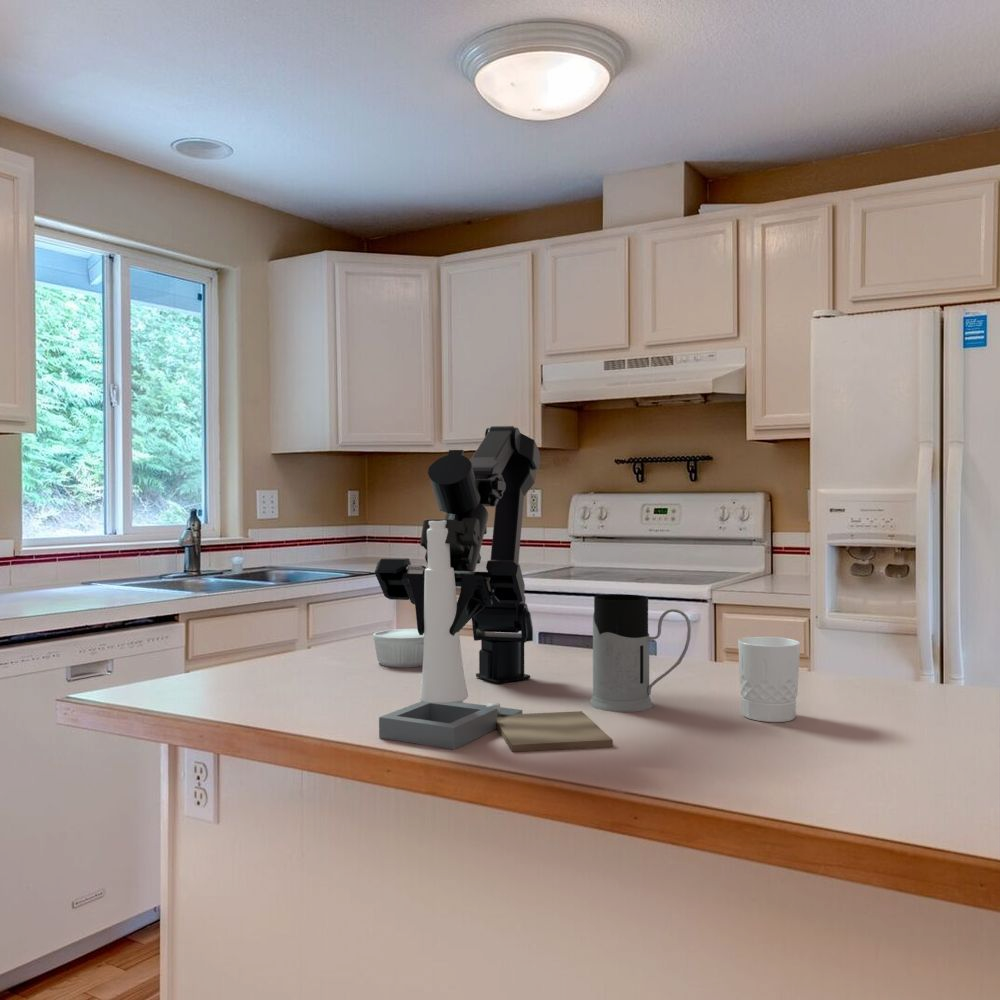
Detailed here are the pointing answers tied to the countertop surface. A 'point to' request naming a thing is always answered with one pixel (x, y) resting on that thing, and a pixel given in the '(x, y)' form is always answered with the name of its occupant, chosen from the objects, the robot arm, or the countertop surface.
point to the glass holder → (624, 652)
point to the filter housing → (442, 723)
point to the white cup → (769, 677)
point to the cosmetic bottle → (440, 625)
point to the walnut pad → (551, 731)
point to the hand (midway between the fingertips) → (435, 633)
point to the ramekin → (399, 647)
